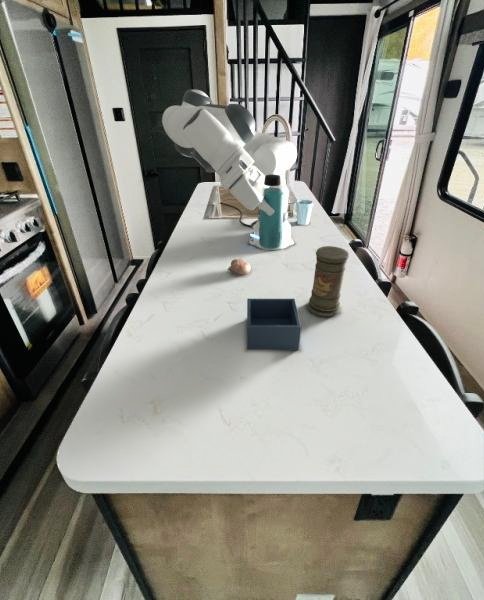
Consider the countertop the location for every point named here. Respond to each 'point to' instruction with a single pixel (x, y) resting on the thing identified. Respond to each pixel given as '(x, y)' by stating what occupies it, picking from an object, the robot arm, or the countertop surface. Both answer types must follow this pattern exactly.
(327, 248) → the container
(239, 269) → the beige lumpy piece
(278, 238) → the beverage bottle
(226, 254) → the countertop surface
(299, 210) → the cup
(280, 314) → the tote
